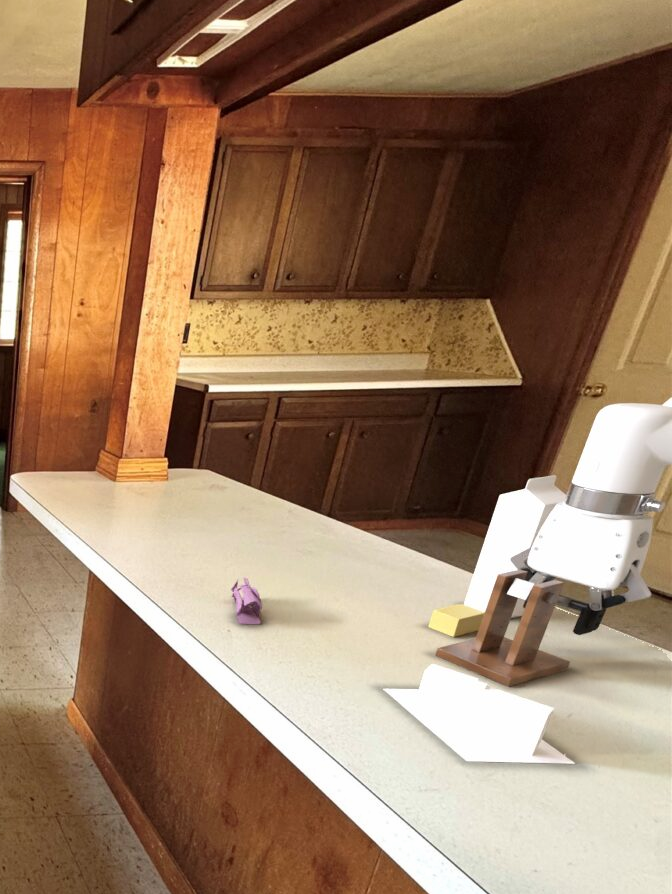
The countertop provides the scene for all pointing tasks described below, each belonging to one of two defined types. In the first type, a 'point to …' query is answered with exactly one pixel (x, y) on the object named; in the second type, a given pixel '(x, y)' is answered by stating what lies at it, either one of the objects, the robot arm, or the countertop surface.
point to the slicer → (504, 655)
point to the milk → (512, 536)
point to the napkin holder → (480, 718)
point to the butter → (456, 620)
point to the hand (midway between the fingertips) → (556, 622)
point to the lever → (524, 589)
